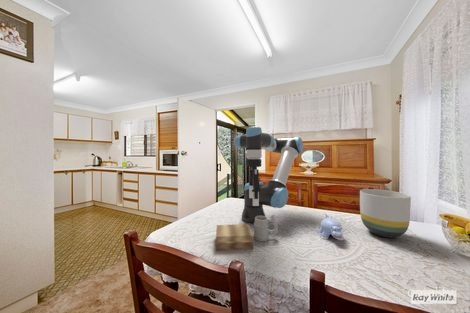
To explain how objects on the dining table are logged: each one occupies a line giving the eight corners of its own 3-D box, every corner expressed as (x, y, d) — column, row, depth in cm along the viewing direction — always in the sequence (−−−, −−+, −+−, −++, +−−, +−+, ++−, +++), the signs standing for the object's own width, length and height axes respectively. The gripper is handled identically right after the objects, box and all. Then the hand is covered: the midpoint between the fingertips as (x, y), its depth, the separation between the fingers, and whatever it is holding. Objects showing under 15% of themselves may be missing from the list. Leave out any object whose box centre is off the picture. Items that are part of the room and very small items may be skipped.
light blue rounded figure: (325, 245, 78) (326, 224, 78) (315, 230, 93) (315, 213, 93) (351, 246, 77) (351, 225, 77) (336, 231, 92) (336, 214, 92)
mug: (253, 233, 90) (253, 210, 89) (276, 235, 88) (277, 211, 88) (253, 241, 82) (253, 215, 82) (278, 242, 80) (278, 217, 80)
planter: (399, 230, 93) (400, 191, 93) (419, 248, 76) (419, 199, 75) (356, 224, 101) (356, 188, 101) (364, 239, 84) (365, 195, 83)
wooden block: (248, 235, 87) (248, 223, 87) (253, 248, 75) (253, 235, 75) (216, 237, 86) (216, 225, 86) (216, 250, 74) (216, 236, 74)
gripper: (243, 158, 97) (243, 195, 98) (249, 159, 72) (248, 209, 73) (257, 158, 98) (257, 195, 98) (266, 159, 73) (266, 209, 73)
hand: (253, 201), depth 85 cm, fingers open, 13 cm apart
